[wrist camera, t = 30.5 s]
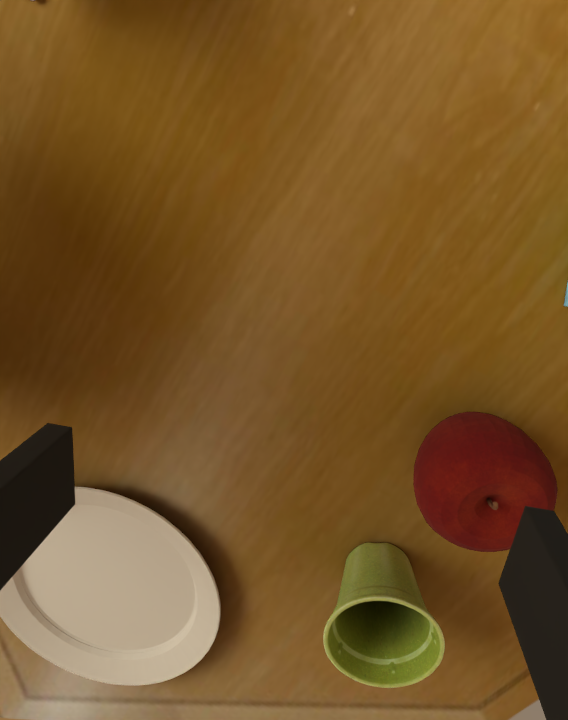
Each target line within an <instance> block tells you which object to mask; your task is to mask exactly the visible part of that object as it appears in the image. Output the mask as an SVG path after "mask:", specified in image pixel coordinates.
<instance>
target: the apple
mask: <svg viewBox="0 0 568 720" xmlns="http://www.w3.org/2000/svg"><path fill="white" fill-rule="evenodd" d="M414 491H415V496H416V501H417V505H418V506H419V508H420V510H421V512H422V514H423V516H424V518H425V520H426V522H427V523H428V524H429V526H430V527H431V528H432V529H433V530H434V531H435V532H437V533H438V534H439V535H441V536H442V537H443V538H445V539H446V540H448V541H449V542H451V543H453V544H455V545H457V546H460V547H463V548H466V549H469V550H475V551H481V552H496V551H503V550H508V549H511V546H512V543H513V540H514V537H515V534H516V531H517V528H518V525H519V522H520V519H521V516H522V514H523V511H524V508H525V506H529V507H534V508H540V509H546V510H552V511H553V510H554V507H555V504H556V499H557V491H558V490H557V482H556V478H555V475H554V472H553V470H552V467H551V465H550V462H549V460H548V459H547V458H546V456H545V455H544V453H543V452H542V451H541V449H540V448H539V447H538V445H537V444H536V443H535V442H534V441H533V440H532V439H531V438H530V437H528V436H527V435H526V434H525V433H524V432H523V431H522V430H521V429H519V428H517V427H516V426H514V425H513V424H511V423H509V422H508V421H506V420H504V419H502V418H499V417H496V416H494V415H491V414H486V413H480V412H465V413H459V414H456V415H453V416H450V417H448V418H446V419H445V420H443V421H441V422H440V423H439V424H438V425H436V426H435V427H434V428H433V429H432V430H431V431H430V432H429V434H428V435H427V436H426V438H425V439H424V441H423V443H422V445H421V447H420V448H419V451H418V454H417V458H416V462H415V465H414Z"/></svg>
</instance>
